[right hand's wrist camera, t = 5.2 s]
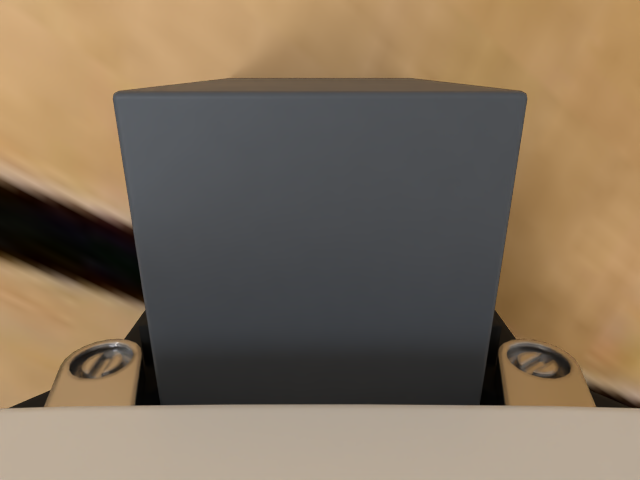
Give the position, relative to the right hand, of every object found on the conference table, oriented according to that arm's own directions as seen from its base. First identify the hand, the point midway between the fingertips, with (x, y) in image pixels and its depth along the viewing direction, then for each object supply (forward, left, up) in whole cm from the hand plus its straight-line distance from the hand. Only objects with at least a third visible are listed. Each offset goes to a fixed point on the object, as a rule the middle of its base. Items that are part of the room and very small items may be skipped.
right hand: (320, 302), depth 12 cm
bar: (+25, 0, -2) cm, 26 cm away
